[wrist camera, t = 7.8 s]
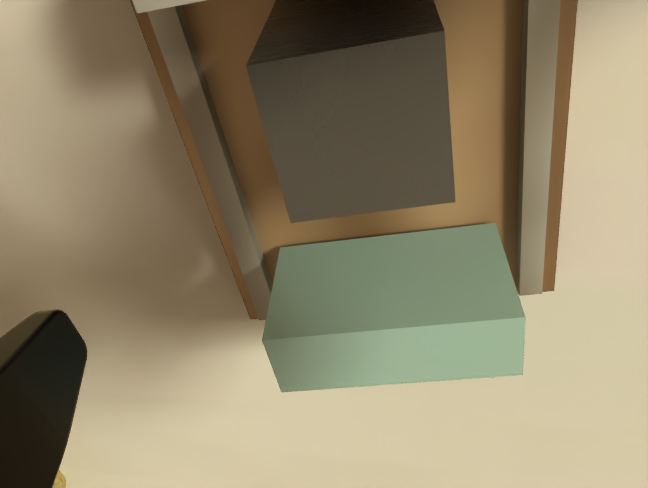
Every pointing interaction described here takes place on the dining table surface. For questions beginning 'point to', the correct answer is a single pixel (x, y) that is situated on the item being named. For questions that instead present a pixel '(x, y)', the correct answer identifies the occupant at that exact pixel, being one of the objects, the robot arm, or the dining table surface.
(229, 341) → the dining table surface
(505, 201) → the vise base
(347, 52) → the block
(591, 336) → the dining table surface
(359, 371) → the sliding jaw
